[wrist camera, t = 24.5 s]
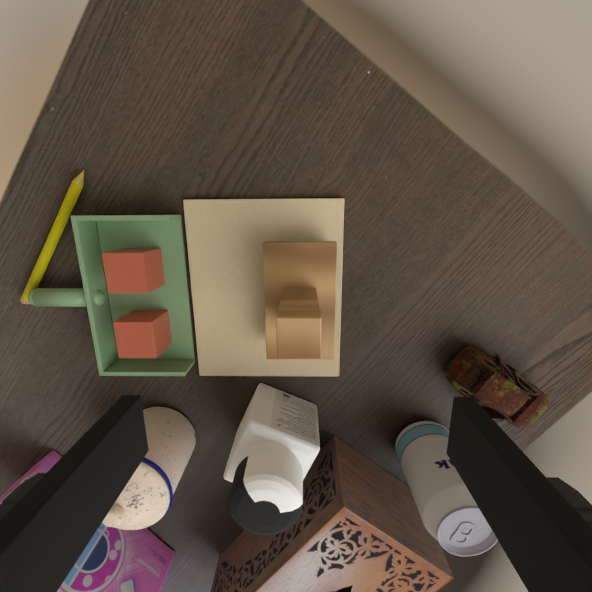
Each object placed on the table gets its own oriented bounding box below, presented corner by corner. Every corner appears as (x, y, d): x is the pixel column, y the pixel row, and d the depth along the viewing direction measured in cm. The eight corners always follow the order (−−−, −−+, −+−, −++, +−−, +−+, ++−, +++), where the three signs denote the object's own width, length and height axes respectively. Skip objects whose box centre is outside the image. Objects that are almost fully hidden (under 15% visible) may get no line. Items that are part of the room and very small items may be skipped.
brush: (266, 239, 33) (245, 254, 21) (333, 238, 33) (351, 254, 21) (270, 345, 36) (253, 412, 24) (331, 345, 36) (345, 412, 24)
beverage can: (458, 424, 39) (523, 514, 28) (434, 468, 41) (486, 570, 29) (406, 408, 39) (450, 492, 27) (384, 453, 40) (417, 550, 29)
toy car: (427, 379, 38) (445, 403, 33) (467, 333, 36) (491, 351, 31) (504, 427, 39) (532, 457, 34) (545, 385, 38) (580, 410, 33)
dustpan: (181, 214, 34) (168, 214, 30) (195, 362, 38) (185, 376, 35) (28, 215, 34) (-2, 216, 31) (59, 361, 38) (36, 375, 35)
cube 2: (124, 248, 34) (101, 252, 30) (160, 247, 34) (142, 252, 30) (129, 284, 35) (107, 293, 31) (165, 284, 35) (148, 293, 31)
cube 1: (132, 310, 36) (112, 321, 32) (168, 310, 36) (151, 321, 32) (137, 343, 37) (118, 358, 33) (171, 343, 37) (156, 358, 33)
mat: (184, 199, 33) (182, 199, 33) (343, 198, 33) (344, 198, 32) (200, 373, 38) (199, 376, 38) (338, 374, 38) (339, 376, 37)
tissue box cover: (334, 435, 40) (344, 506, 30) (419, 493, 42) (453, 578, 32) (219, 555, 46) (196, 648, 36) (299, 602, 48) (298, 701, 38)
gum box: (184, 556, 46) (136, 694, 33) (147, 581, 47) (87, 724, 34) (53, 447, 41) (-63, 556, 28) (16, 479, 43) (-110, 597, 30)
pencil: (33, 302, 36) (25, 305, 35) (25, 298, 36) (17, 300, 35) (91, 173, 33) (85, 171, 32) (82, 167, 32) (76, 166, 31)
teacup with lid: (134, 394, 39) (66, 468, 28) (206, 415, 40) (167, 496, 28) (118, 470, 42) (50, 565, 31) (184, 489, 43) (142, 588, 31)
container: (292, 452, 41) (287, 559, 28) (236, 430, 40) (206, 530, 28) (318, 404, 39) (325, 496, 26) (259, 380, 38) (238, 463, 26)
